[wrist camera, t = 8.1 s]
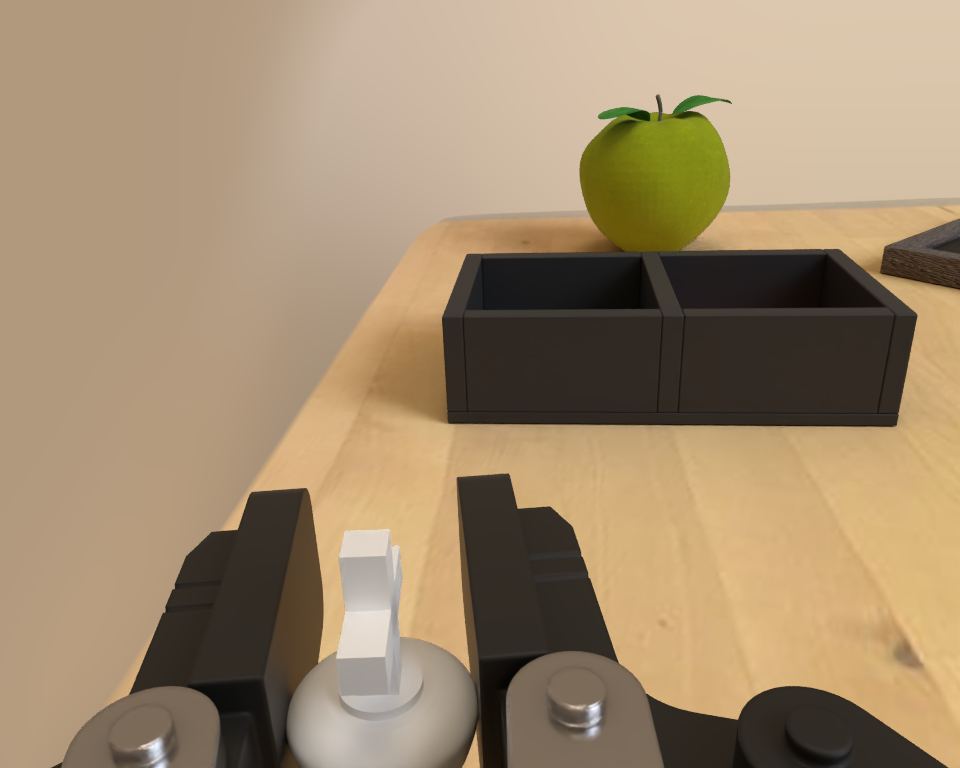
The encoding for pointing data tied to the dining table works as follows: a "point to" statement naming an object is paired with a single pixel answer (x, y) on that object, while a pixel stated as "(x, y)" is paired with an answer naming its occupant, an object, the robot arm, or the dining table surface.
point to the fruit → (655, 176)
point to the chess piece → (381, 680)
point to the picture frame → (927, 256)
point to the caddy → (674, 339)
